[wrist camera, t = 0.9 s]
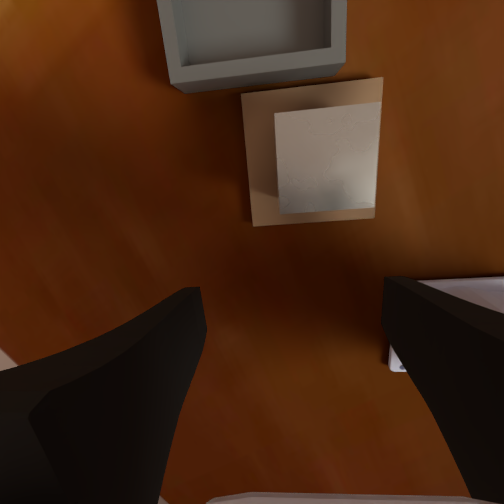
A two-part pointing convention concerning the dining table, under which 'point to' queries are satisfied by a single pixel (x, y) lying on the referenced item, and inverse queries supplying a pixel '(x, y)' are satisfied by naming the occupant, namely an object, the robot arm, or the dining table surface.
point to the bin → (251, 41)
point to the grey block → (327, 158)
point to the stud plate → (263, 143)
